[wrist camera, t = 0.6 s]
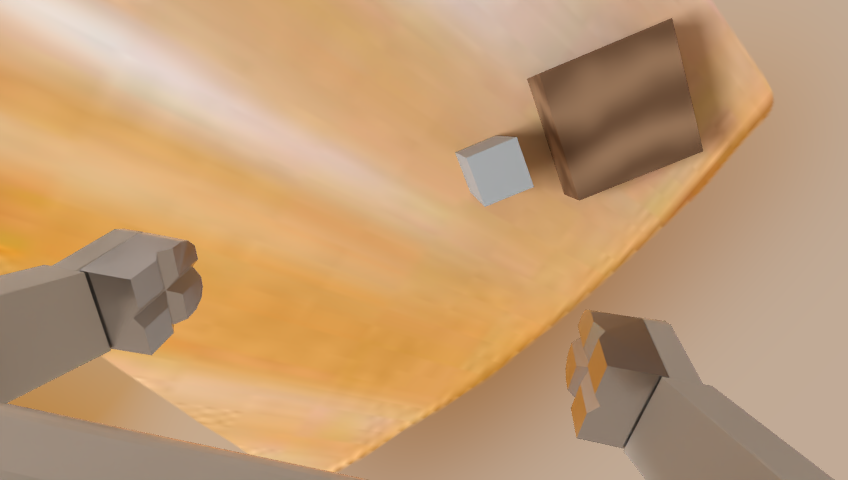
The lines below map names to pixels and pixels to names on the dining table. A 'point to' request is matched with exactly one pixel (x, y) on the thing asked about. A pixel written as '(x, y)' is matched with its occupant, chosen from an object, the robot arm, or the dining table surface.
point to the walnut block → (617, 112)
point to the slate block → (495, 169)
